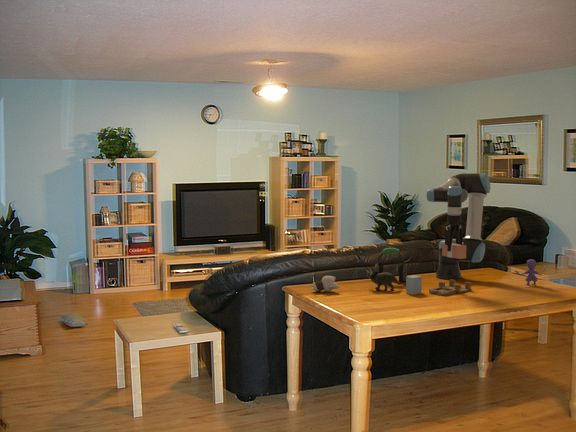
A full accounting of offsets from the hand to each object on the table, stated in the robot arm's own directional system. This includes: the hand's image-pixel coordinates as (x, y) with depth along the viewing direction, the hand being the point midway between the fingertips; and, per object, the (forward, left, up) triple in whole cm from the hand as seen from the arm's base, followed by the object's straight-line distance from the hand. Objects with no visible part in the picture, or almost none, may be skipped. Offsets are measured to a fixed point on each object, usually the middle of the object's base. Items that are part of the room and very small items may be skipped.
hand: (453, 256), depth 362 cm
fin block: (-10, -21, -19) cm, 30 cm away
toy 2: (+22, +44, -19) cm, 52 cm away
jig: (+1, -5, -19) cm, 20 cm away
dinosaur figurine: (-26, -27, -19) cm, 43 cm away
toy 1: (-44, -55, -19) cm, 73 cm away
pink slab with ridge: (0, 0, 0) cm, 0 cm away
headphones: (-40, -5, -19) cm, 45 cm away
